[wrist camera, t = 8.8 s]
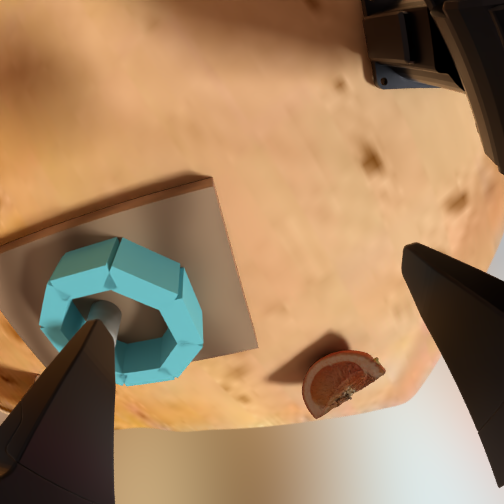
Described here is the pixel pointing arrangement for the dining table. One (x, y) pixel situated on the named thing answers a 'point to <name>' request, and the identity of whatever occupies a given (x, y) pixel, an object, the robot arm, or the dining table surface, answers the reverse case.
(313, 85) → the dining table surface
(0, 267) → the hook board
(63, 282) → the teal octagonal ring
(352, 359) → the fruit slice
